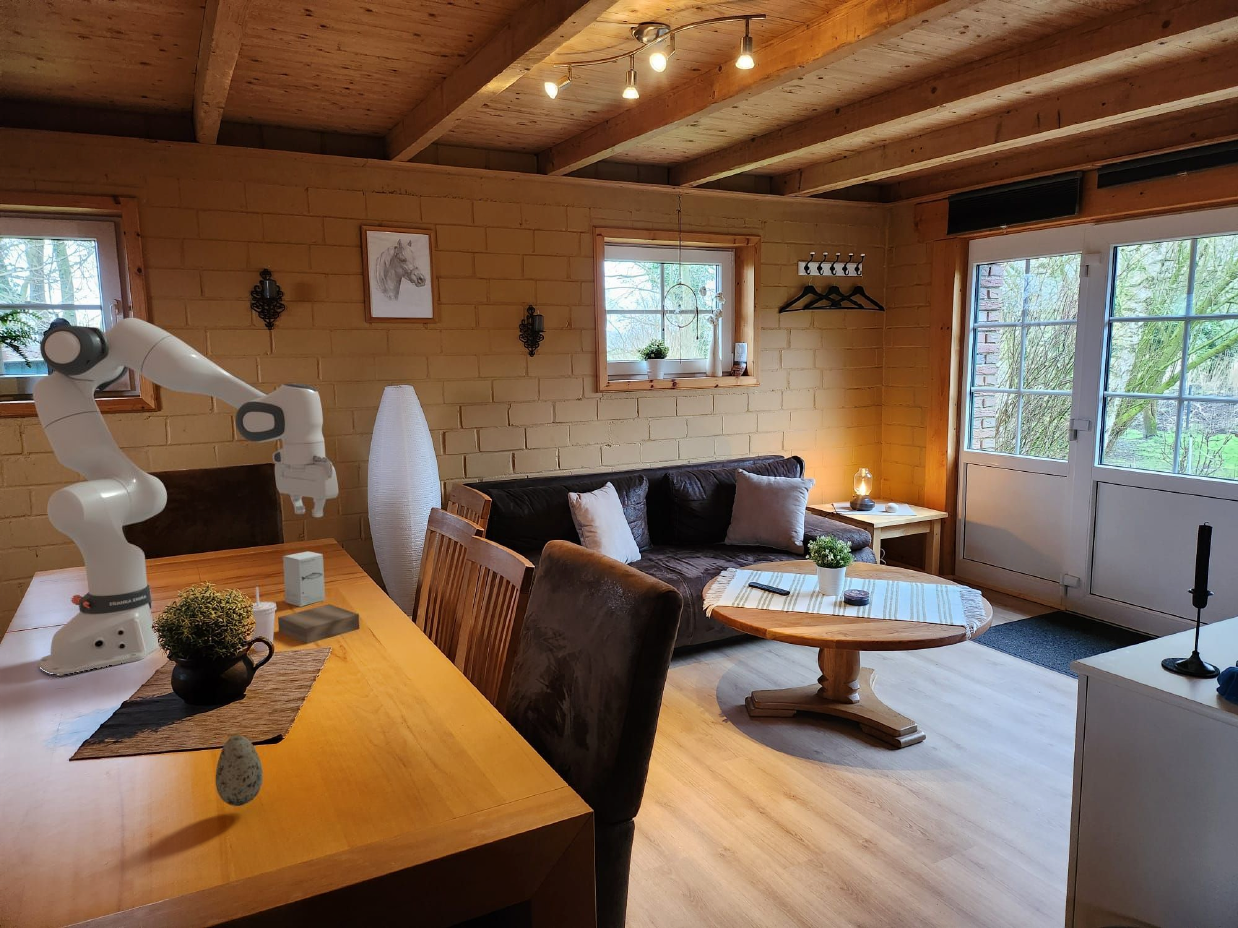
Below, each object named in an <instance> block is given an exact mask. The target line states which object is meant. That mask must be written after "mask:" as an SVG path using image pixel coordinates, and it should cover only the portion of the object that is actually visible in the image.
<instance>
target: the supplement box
mask: <svg viewBox="0 0 1238 928" xmlns="http://www.w3.org/2000/svg"><path fill="white" fill-rule="evenodd" d="M323 556H324V555H323V553H318V552H313V551H303V552H298V553H293V554H288V555H283V556H282V560H283V561H282V562H283V581H284V596H285V597H284V598H285V603H286V604H289V605H294V606H296V607H299V608H302V607H304V606H307V605H311V604H315V603H319V602H323V601H326V593H325V591H326V590H325V574H324V573H325V572H324V557H323Z"/></svg>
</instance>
